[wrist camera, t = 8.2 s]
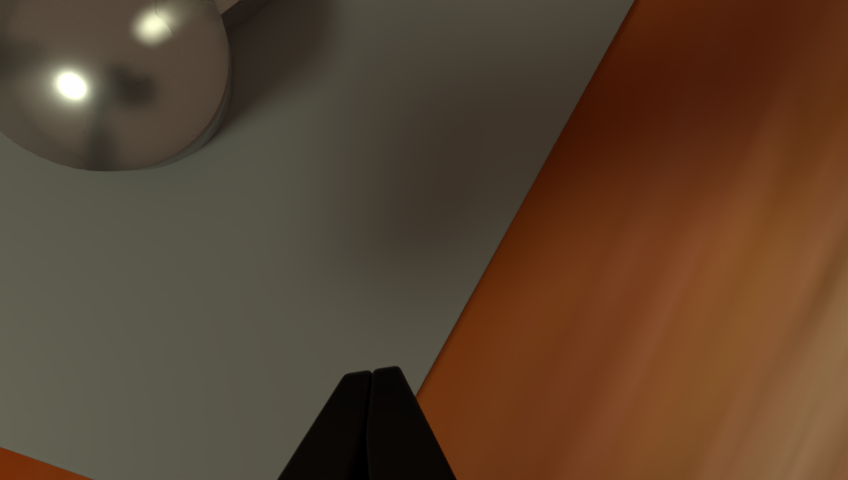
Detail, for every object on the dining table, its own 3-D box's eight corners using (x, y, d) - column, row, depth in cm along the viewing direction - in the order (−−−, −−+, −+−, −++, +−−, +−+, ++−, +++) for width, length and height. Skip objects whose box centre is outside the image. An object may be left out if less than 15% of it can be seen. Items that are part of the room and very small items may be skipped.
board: (321, 539, 18) (324, 563, 17) (-618, 200, 12) (-708, 203, 11) (652, -58, 19) (676, -73, 17) (-85, -694, 12) (-121, -778, 11)
